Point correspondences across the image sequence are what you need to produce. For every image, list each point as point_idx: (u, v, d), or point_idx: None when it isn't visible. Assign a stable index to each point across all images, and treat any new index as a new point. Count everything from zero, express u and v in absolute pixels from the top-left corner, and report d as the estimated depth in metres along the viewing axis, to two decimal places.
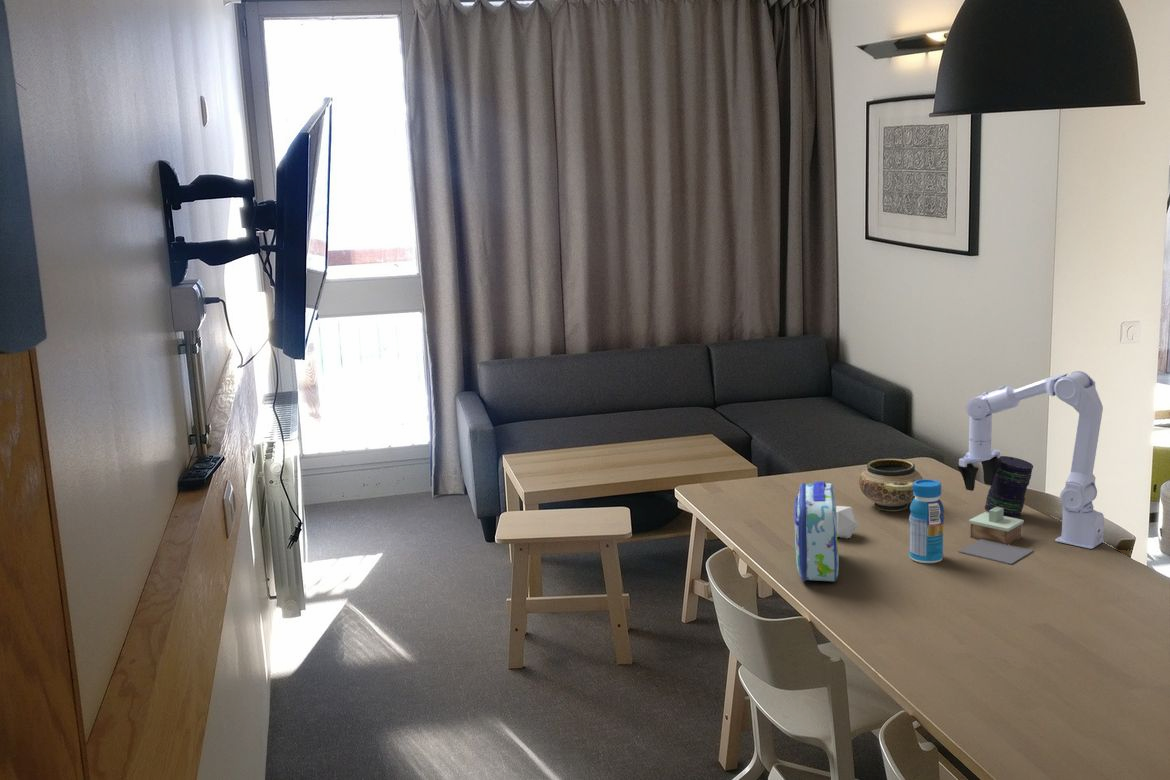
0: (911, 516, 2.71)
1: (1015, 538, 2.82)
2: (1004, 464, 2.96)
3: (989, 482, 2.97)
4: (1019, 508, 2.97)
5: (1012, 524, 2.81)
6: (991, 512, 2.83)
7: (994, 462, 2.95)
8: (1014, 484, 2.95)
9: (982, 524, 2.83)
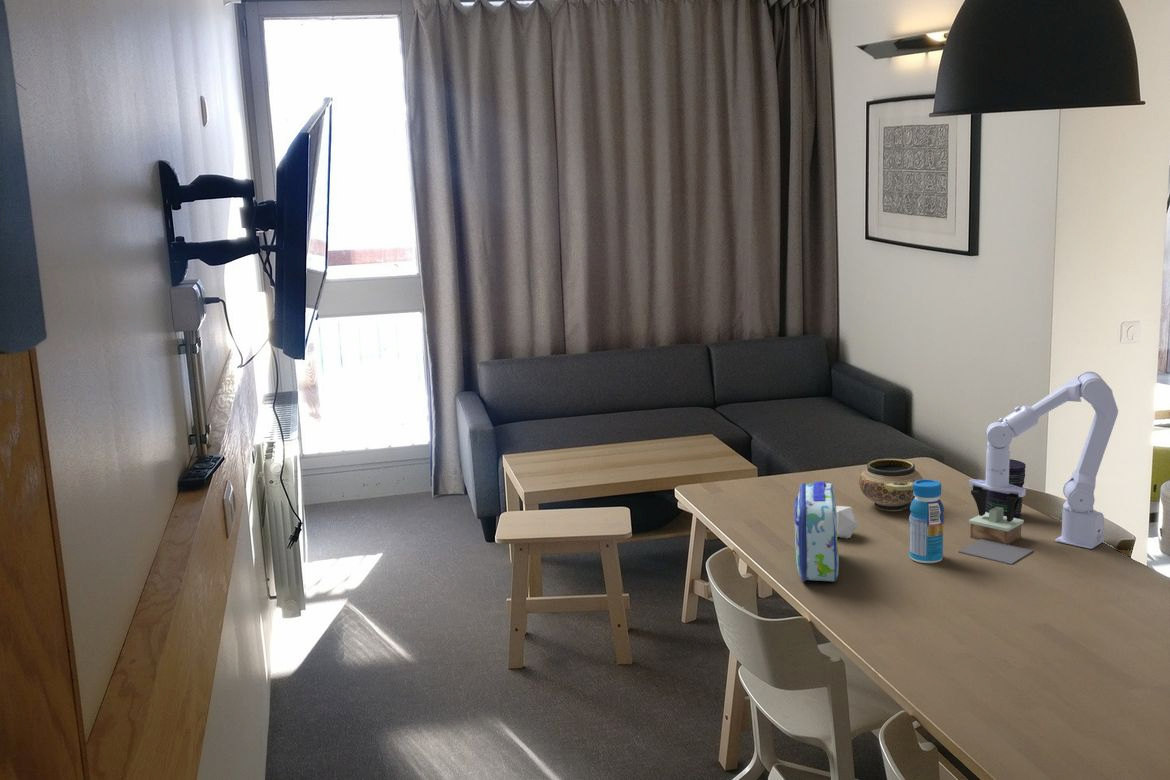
0: (911, 516, 2.71)
1: (1015, 538, 2.82)
2: None
3: None
4: (1017, 509, 2.97)
5: (1012, 524, 2.81)
6: (991, 512, 2.83)
7: None
8: None
9: (982, 524, 2.83)
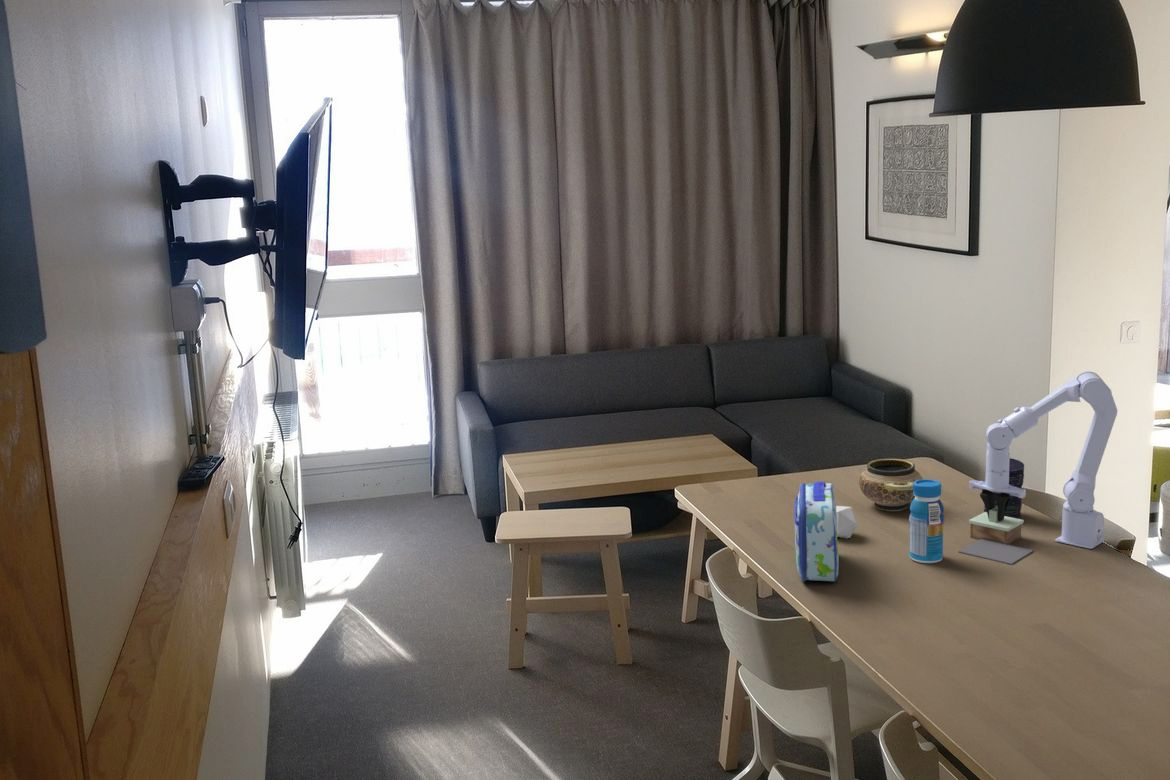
0: (911, 516, 2.71)
1: (1015, 538, 2.82)
2: None
3: None
4: (1015, 509, 2.97)
5: (1012, 524, 2.81)
6: (991, 512, 2.83)
7: None
8: None
9: (982, 524, 2.83)
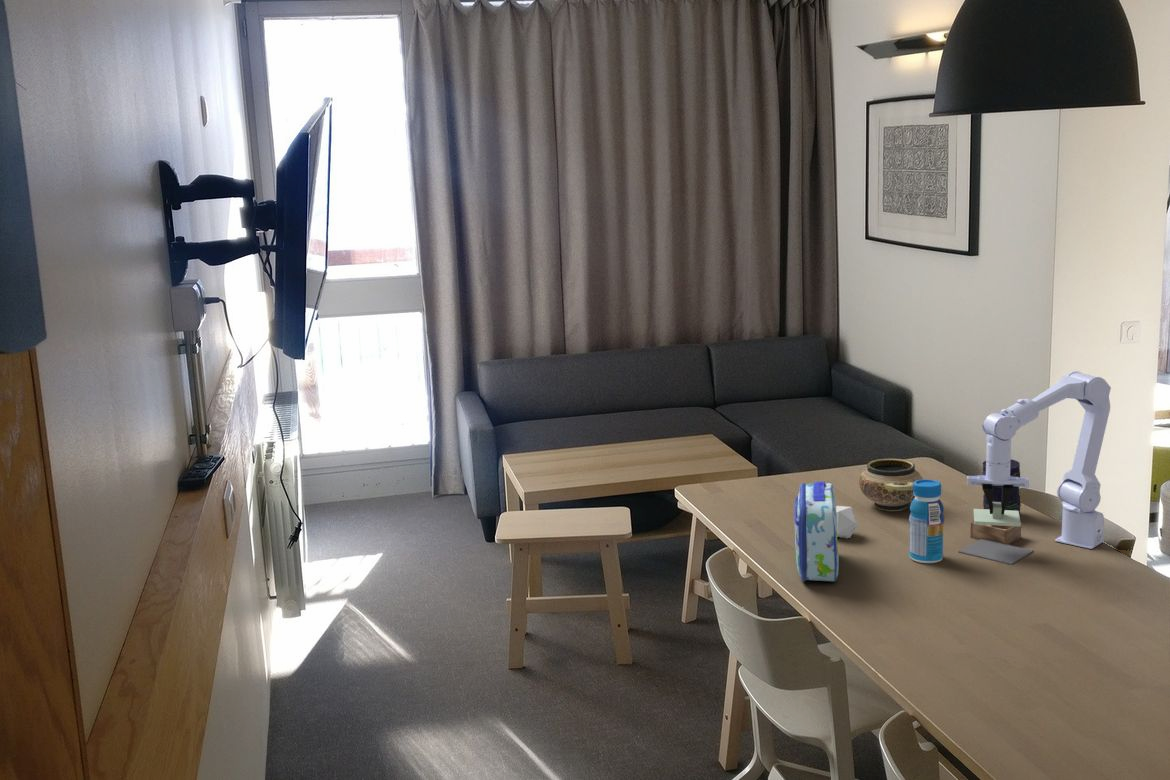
0: (911, 516, 2.71)
1: (1015, 538, 2.82)
2: None
3: None
4: (1013, 509, 2.97)
5: (1017, 518, 2.71)
6: (995, 509, 2.71)
7: (1002, 489, 2.70)
8: (1000, 486, 2.96)
9: (990, 523, 2.70)
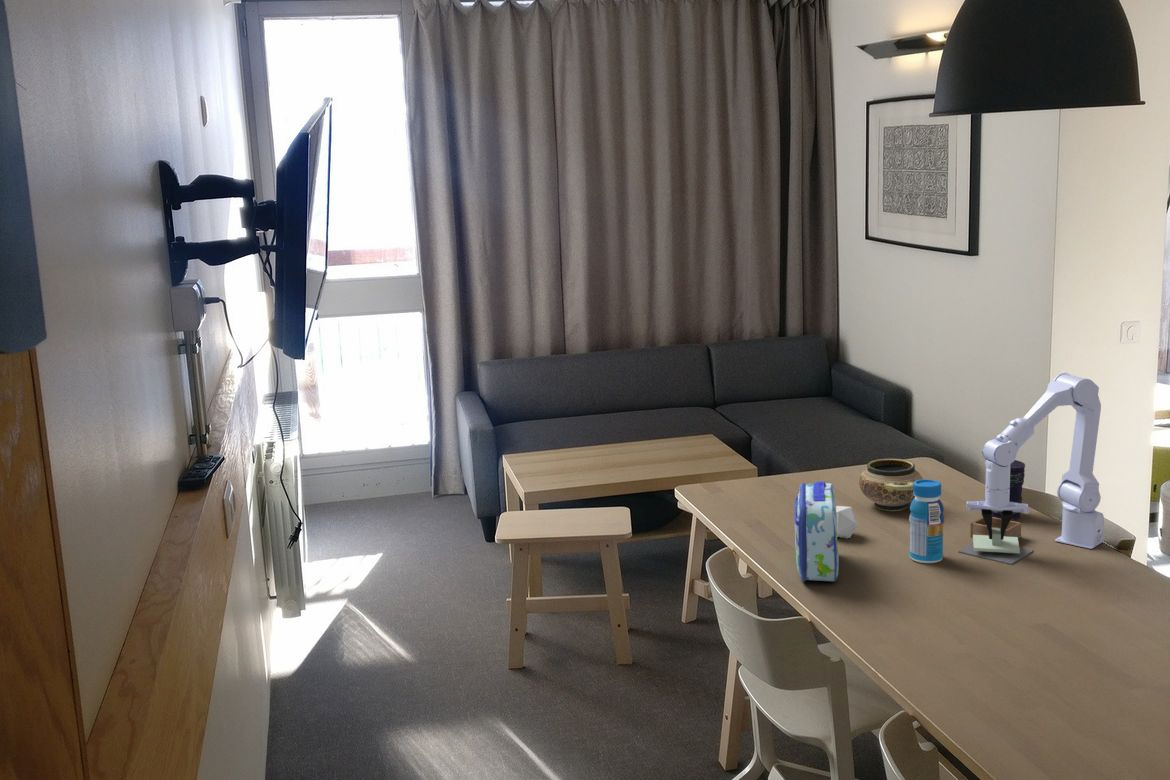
0: (911, 516, 2.71)
1: None
2: None
3: None
4: None
5: (1016, 544, 2.73)
6: (995, 535, 2.72)
7: (1002, 515, 2.71)
8: None
9: (990, 550, 2.71)
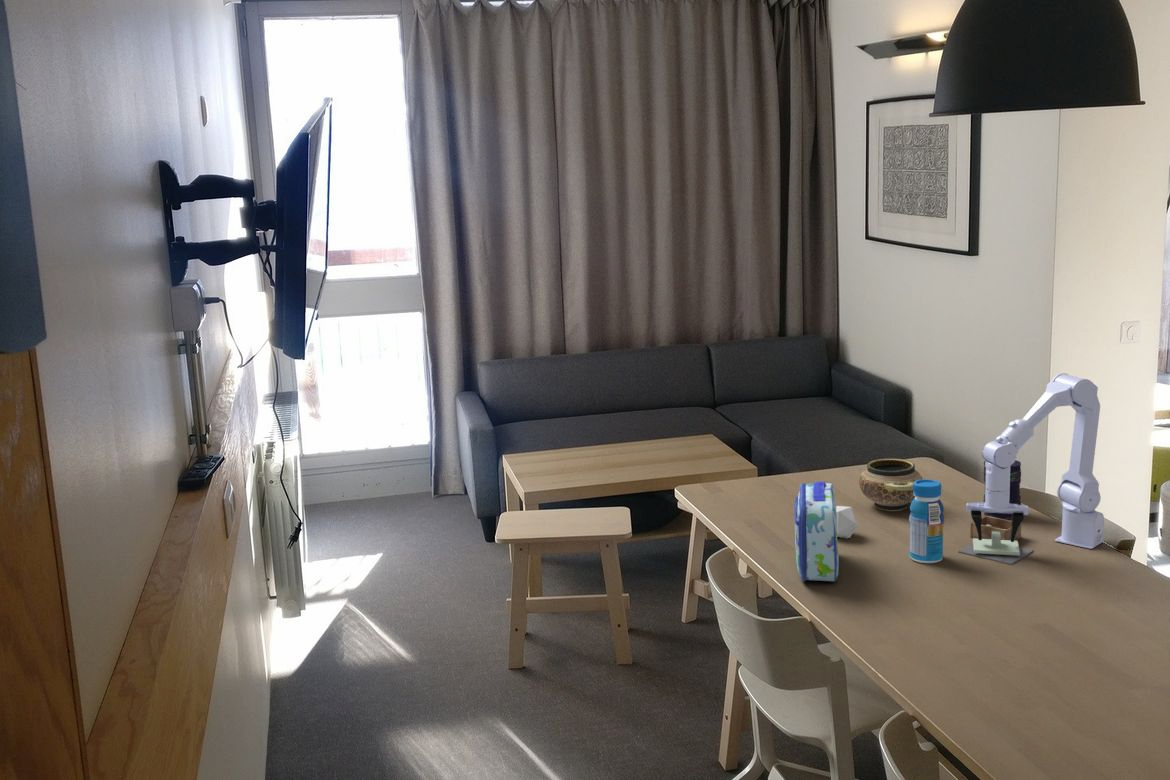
0: (911, 516, 2.71)
1: (1015, 538, 2.82)
2: None
3: (1011, 538, 2.73)
4: None
5: (1016, 547, 2.73)
6: (995, 538, 2.73)
7: (1012, 517, 2.70)
8: None
9: (990, 552, 2.71)
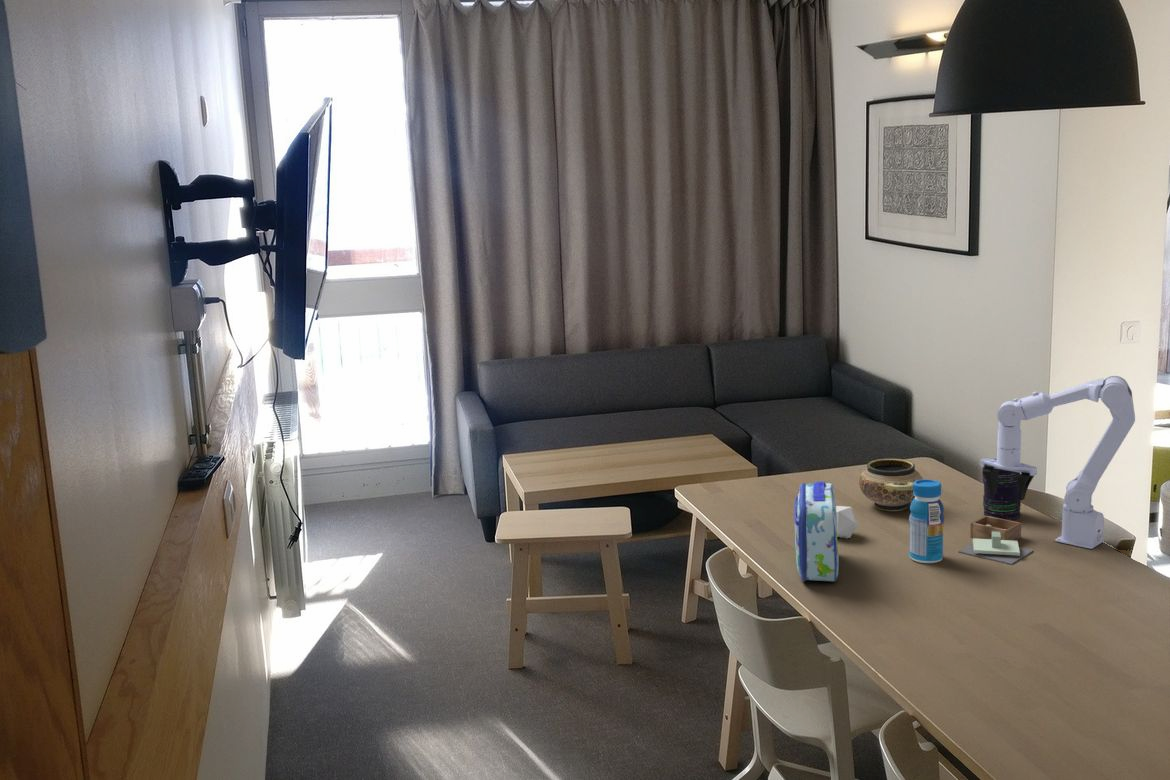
0: (911, 516, 2.71)
1: (1015, 538, 2.82)
2: None
3: None
4: (1010, 509, 2.97)
5: (1016, 547, 2.73)
6: (995, 538, 2.73)
7: None
8: None
9: (990, 552, 2.71)
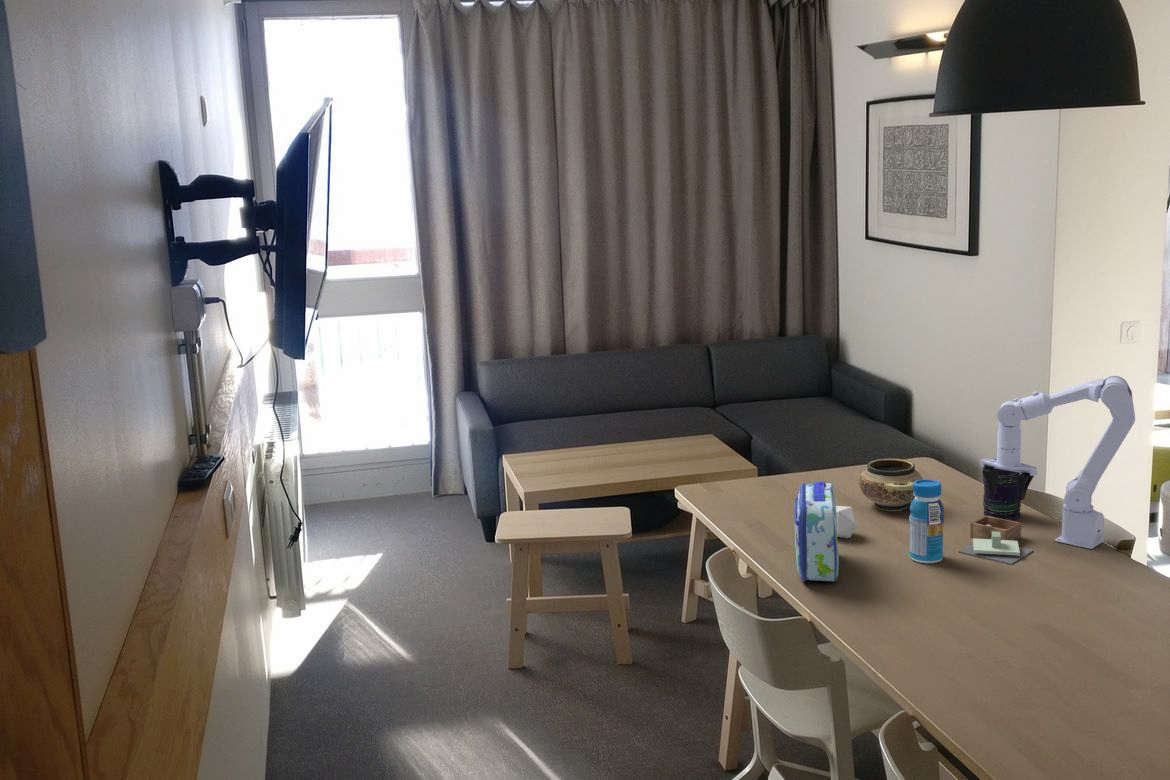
0: (911, 516, 2.71)
1: (1015, 538, 2.82)
2: None
3: None
4: (1009, 509, 2.97)
5: (1016, 547, 2.73)
6: (995, 538, 2.73)
7: None
8: None
9: (990, 552, 2.71)
